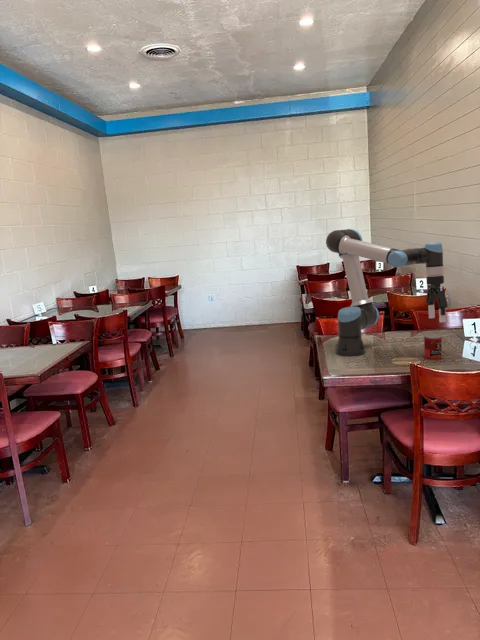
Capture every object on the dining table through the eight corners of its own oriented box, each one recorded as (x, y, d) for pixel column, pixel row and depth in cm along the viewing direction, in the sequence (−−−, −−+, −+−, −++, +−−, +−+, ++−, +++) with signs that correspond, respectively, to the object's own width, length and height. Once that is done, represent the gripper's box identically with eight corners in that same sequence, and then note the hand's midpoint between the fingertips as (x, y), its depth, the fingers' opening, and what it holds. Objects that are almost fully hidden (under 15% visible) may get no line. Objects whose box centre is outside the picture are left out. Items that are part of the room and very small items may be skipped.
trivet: (387, 359, 232) (387, 358, 232) (413, 357, 233) (413, 355, 232) (397, 367, 219) (397, 365, 219) (425, 364, 220) (425, 362, 220)
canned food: (431, 360, 226) (431, 337, 224) (420, 356, 233) (420, 334, 231) (445, 358, 228) (445, 336, 226) (434, 354, 235) (434, 333, 233)
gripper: (454, 276, 212) (456, 323, 215) (433, 273, 236) (435, 315, 239) (437, 277, 212) (439, 324, 215) (417, 275, 237) (420, 317, 240)
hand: (437, 320), depth 227 cm, fingers open, 13 cm apart
